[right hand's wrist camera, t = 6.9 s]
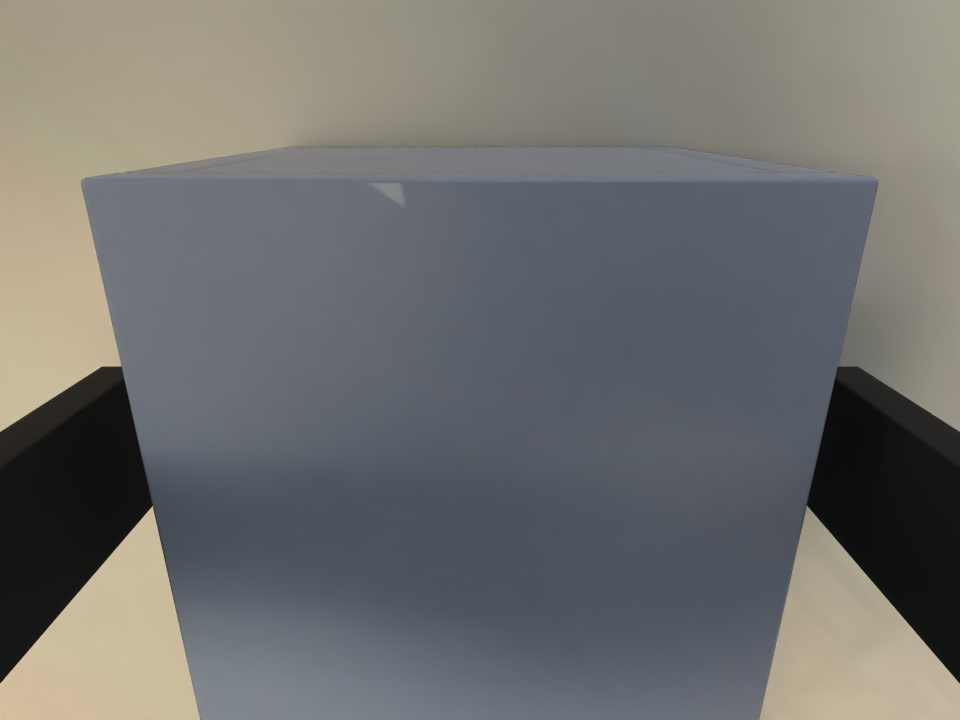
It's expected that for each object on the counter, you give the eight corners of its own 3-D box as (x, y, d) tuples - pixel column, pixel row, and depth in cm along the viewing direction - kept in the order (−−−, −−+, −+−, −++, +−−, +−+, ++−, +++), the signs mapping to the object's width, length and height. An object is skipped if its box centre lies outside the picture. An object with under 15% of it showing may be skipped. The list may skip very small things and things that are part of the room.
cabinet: (611, 723, 24) (684, 1058, 15) (347, 723, 23) (274, 1060, 15) (672, 146, 16) (882, 178, 8) (287, 146, 16) (77, 178, 8)
